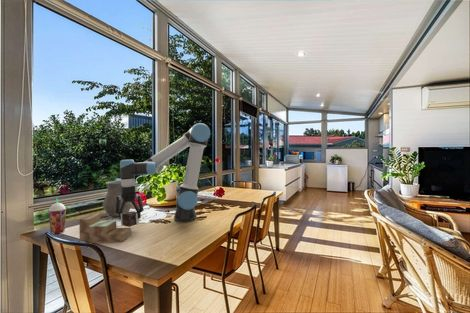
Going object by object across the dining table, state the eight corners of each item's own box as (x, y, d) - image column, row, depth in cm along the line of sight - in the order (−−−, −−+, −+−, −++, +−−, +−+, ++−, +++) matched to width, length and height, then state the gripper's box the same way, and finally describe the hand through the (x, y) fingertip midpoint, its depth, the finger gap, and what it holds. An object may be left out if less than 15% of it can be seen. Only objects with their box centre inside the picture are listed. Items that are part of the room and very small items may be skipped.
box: (128, 227, 134) (128, 214, 134) (122, 225, 138) (121, 213, 137) (138, 224, 140) (137, 211, 139) (131, 222, 143) (131, 210, 143)
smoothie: (70, 230, 140) (69, 197, 139) (55, 235, 132) (54, 200, 132) (60, 229, 143) (59, 196, 142) (45, 233, 135) (44, 199, 134)
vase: (124, 211, 185) (123, 179, 185) (138, 214, 174) (137, 181, 174) (97, 217, 169) (96, 182, 169) (111, 221, 158) (110, 184, 158)
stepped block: (131, 234, 132) (130, 213, 131) (122, 241, 121) (122, 218, 121) (91, 235, 131) (90, 214, 131) (79, 242, 121) (78, 219, 120)
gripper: (148, 184, 142) (150, 221, 143) (113, 185, 141) (115, 223, 142) (143, 186, 135) (146, 225, 135) (106, 187, 134) (109, 227, 135)
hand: (130, 224), depth 139 cm, fingers closed on box, 8 cm apart
